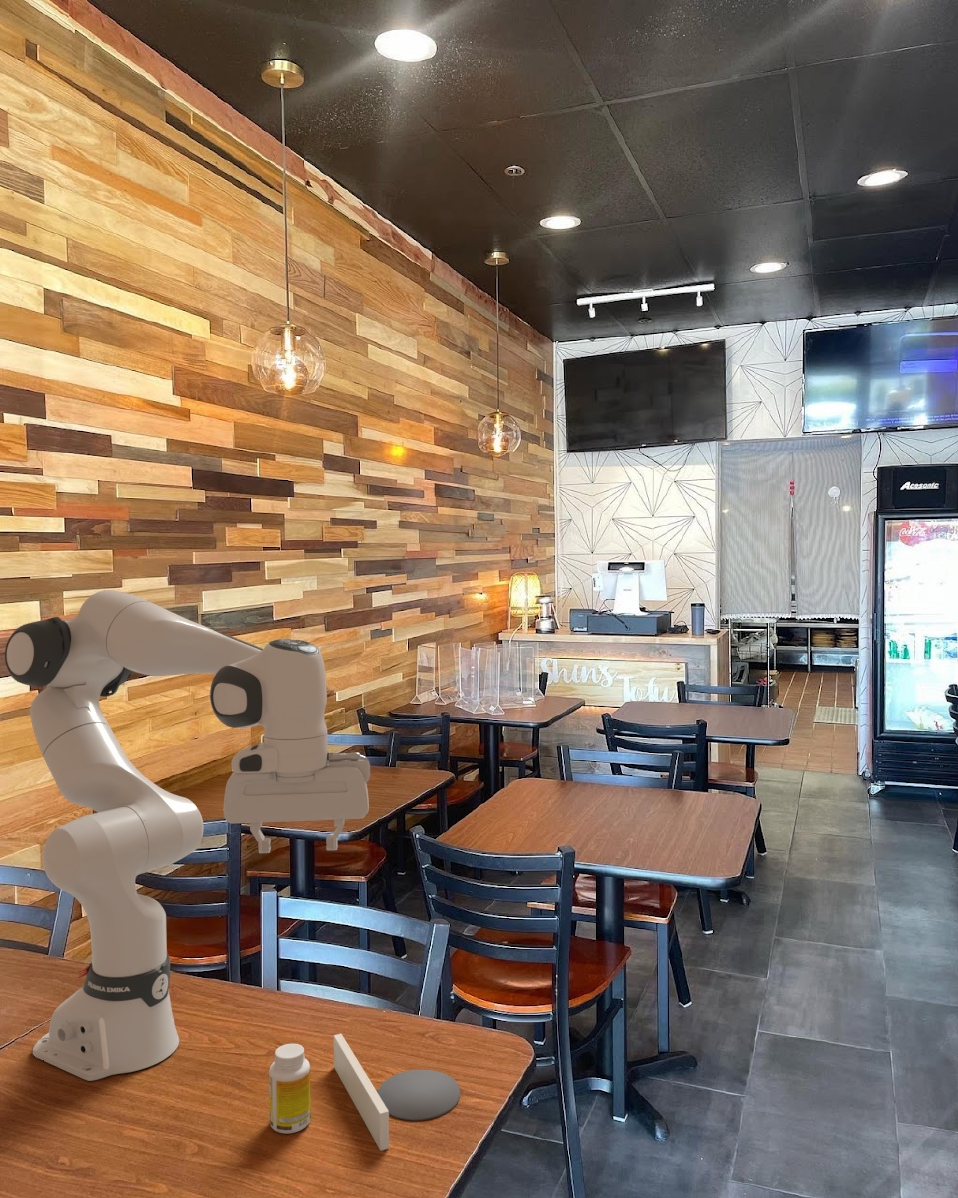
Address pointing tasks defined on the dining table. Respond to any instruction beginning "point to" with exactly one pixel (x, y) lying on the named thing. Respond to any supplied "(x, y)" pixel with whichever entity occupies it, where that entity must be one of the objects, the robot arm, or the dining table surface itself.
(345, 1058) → the low wall
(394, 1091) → the rest mat
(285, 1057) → the supplement bottle
